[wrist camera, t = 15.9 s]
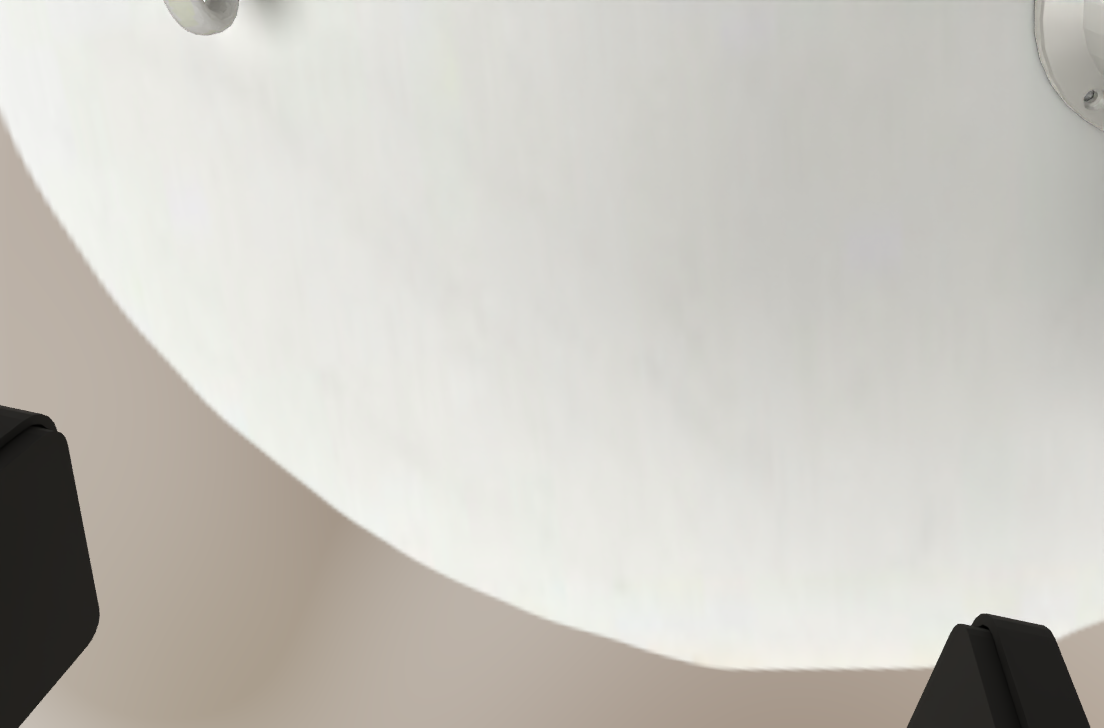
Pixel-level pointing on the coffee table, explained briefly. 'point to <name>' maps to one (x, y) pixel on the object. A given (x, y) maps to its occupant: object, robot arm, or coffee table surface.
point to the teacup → (203, 14)
